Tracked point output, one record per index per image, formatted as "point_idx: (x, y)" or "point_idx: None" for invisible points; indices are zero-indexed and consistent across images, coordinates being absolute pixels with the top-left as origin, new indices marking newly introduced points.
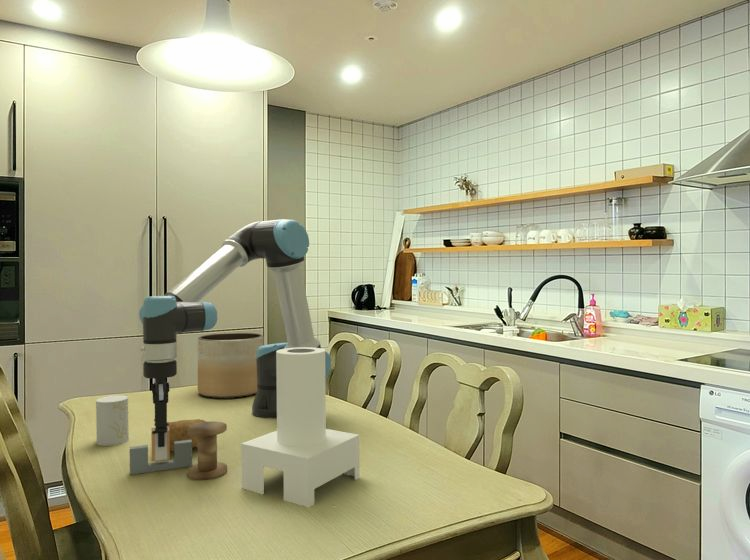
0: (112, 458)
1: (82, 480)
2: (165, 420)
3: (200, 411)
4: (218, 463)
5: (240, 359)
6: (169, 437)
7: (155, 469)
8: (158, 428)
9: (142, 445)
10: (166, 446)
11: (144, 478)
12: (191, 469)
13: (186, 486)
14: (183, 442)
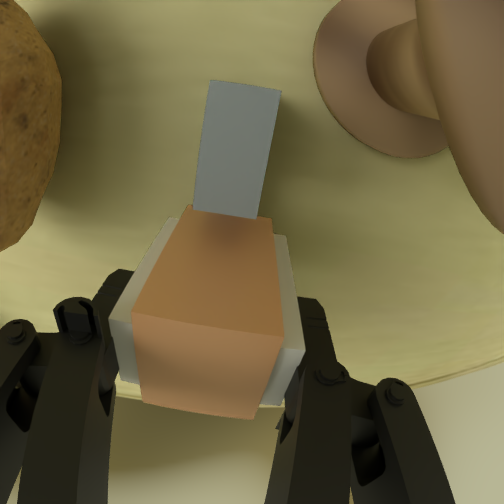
0: (55, 326)
1: None
2: (435, 469)
3: None
4: (370, 2)
5: None
6: (278, 292)
7: None
8: (378, 441)
9: None
10: (291, 279)
11: (298, 293)
12: (379, 132)
13: (466, 194)
14: (256, 153)
